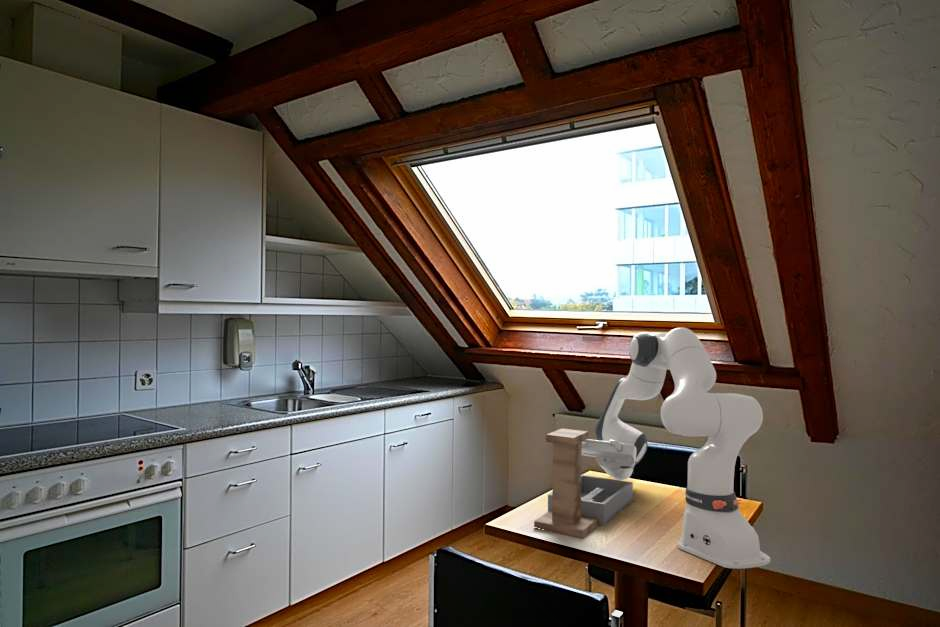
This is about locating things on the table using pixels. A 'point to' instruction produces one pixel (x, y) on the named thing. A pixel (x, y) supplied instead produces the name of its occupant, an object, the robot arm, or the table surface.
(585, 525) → the stand
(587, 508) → the parts tray
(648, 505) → the table surface
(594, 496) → the white bar
